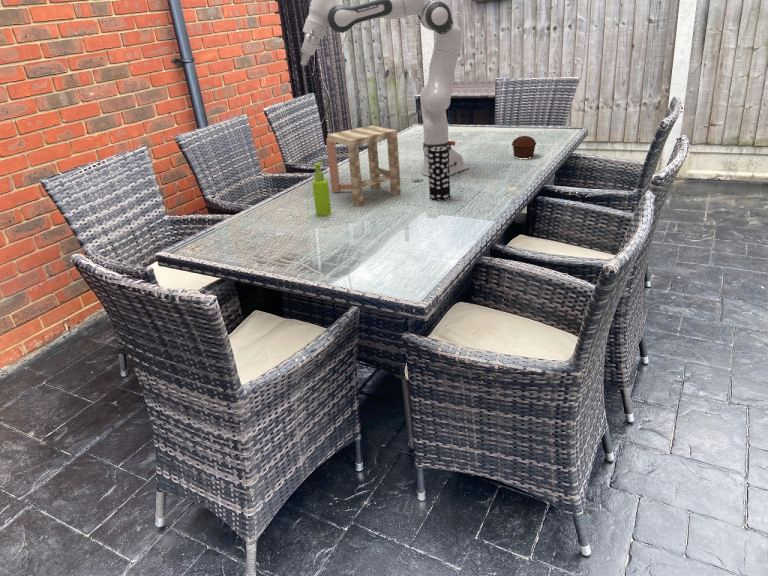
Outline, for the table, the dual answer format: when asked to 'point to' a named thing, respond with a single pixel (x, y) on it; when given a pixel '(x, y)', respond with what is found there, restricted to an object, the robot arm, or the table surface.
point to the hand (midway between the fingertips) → (303, 64)
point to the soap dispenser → (321, 192)
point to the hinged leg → (334, 168)
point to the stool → (370, 158)
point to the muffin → (524, 147)
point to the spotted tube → (439, 173)
